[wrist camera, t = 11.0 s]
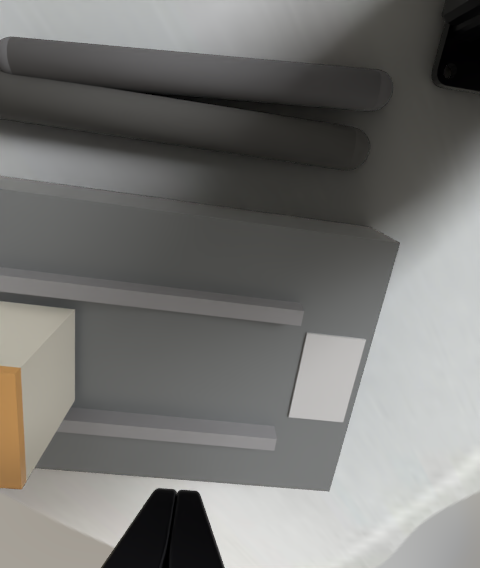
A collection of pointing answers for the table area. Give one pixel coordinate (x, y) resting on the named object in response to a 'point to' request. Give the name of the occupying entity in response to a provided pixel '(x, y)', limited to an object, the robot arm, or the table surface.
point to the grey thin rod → (197, 74)
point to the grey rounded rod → (180, 122)
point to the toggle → (33, 384)
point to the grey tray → (198, 331)
